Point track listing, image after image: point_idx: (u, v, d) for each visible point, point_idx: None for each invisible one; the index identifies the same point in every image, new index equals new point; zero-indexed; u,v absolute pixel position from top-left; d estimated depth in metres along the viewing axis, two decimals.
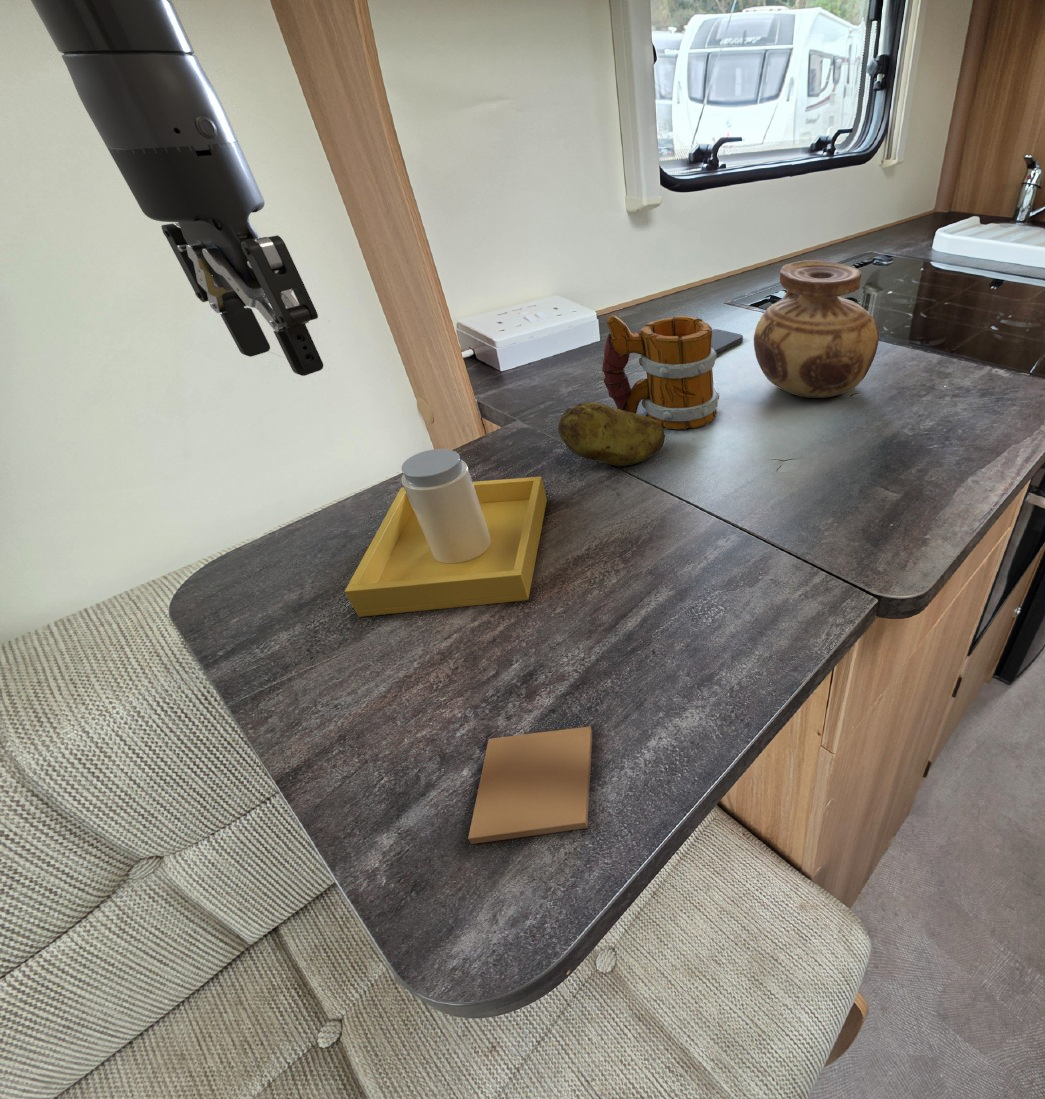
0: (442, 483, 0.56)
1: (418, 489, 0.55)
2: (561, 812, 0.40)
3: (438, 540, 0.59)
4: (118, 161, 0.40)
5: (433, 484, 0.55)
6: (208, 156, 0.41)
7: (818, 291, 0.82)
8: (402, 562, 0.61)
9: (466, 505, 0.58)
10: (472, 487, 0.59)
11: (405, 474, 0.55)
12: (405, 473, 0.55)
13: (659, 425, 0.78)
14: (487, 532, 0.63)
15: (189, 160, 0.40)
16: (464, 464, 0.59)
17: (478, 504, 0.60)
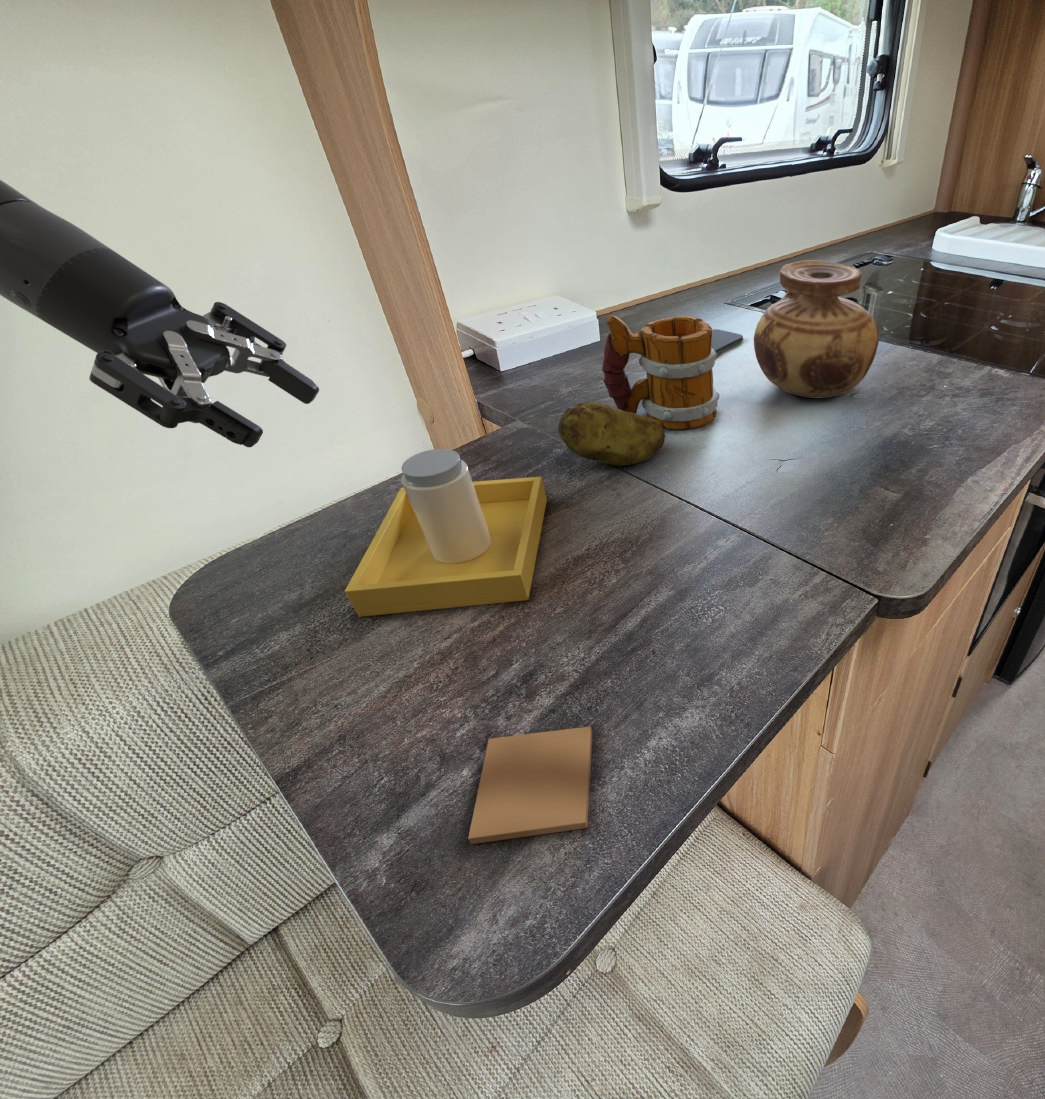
0: (442, 483, 0.56)
1: (418, 489, 0.55)
2: (561, 812, 0.40)
3: (438, 540, 0.59)
4: (102, 256, 0.46)
5: (433, 484, 0.55)
6: None
7: (818, 291, 0.82)
8: (402, 562, 0.61)
9: (466, 505, 0.58)
10: (472, 487, 0.59)
11: (405, 474, 0.55)
12: (405, 473, 0.55)
13: (659, 425, 0.78)
14: (487, 532, 0.63)
15: None
16: (464, 464, 0.59)
17: (478, 504, 0.60)
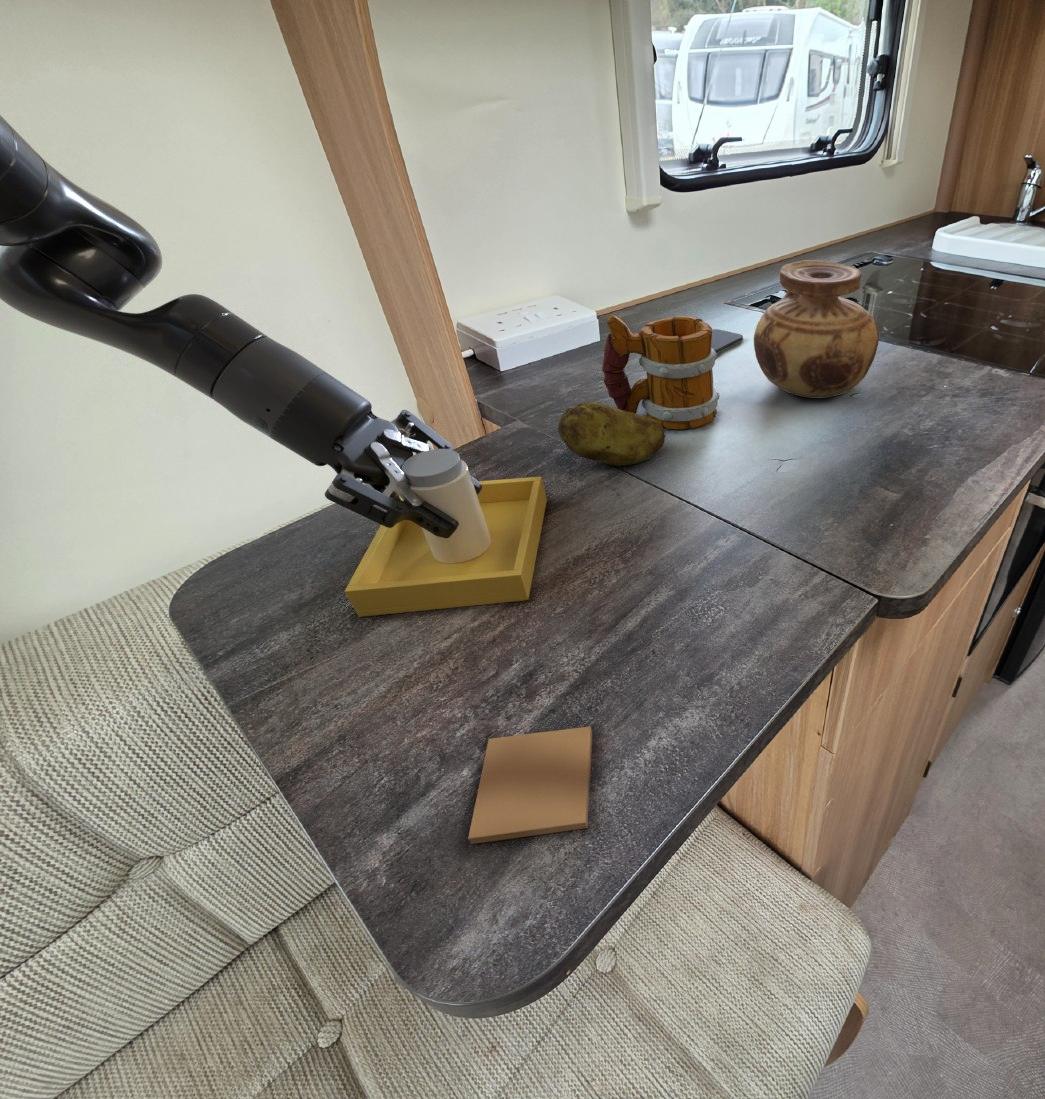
0: (442, 483, 0.56)
1: (419, 489, 0.55)
2: (561, 812, 0.40)
3: (438, 540, 0.59)
4: (325, 382, 0.52)
5: (433, 484, 0.55)
6: None
7: (818, 291, 0.82)
8: (402, 562, 0.61)
9: (466, 505, 0.58)
10: (472, 487, 0.59)
11: (405, 474, 0.55)
12: (405, 473, 0.55)
13: (659, 425, 0.78)
14: (487, 532, 0.63)
15: None
16: (464, 464, 0.59)
17: (478, 504, 0.60)
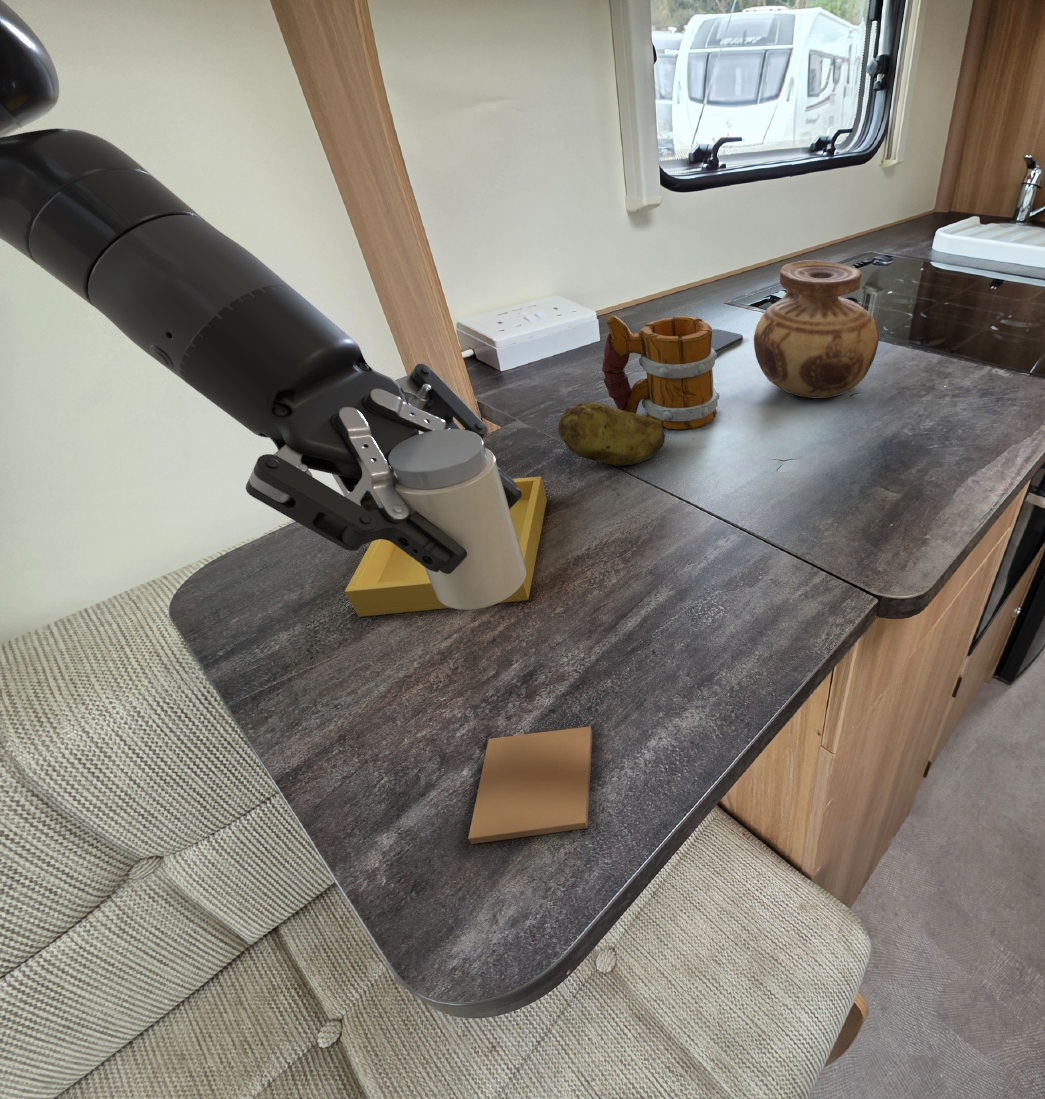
0: (445, 486, 0.34)
1: (407, 491, 0.33)
2: (561, 812, 0.40)
3: (438, 573, 0.37)
4: (275, 299, 0.31)
5: (430, 486, 0.33)
6: None
7: (818, 291, 0.82)
8: (402, 562, 0.61)
9: (484, 524, 0.36)
10: (499, 496, 0.37)
11: (390, 465, 0.34)
12: (390, 463, 0.34)
13: (659, 425, 0.78)
14: (519, 565, 0.40)
15: None
16: (491, 457, 0.36)
17: (507, 522, 0.38)
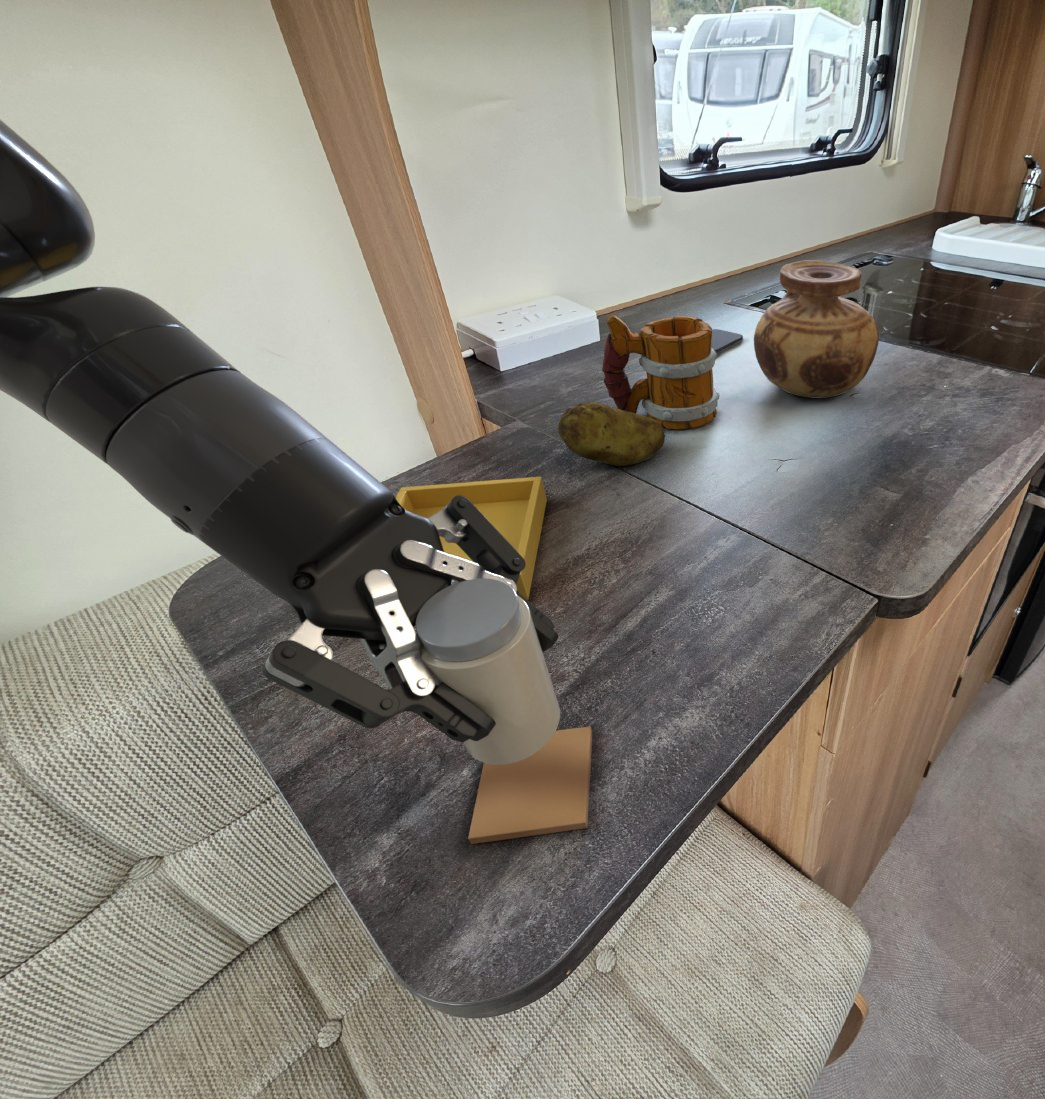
0: (474, 659, 0.31)
1: (433, 663, 0.30)
2: (561, 812, 0.40)
3: None
4: (301, 461, 0.28)
5: (458, 659, 0.30)
6: None
7: (818, 291, 0.82)
8: None
9: (516, 688, 0.33)
10: (533, 655, 0.33)
11: (417, 632, 0.31)
12: (417, 630, 0.31)
13: (659, 425, 0.78)
14: (552, 715, 0.37)
15: None
16: (526, 615, 0.33)
17: (541, 678, 0.35)
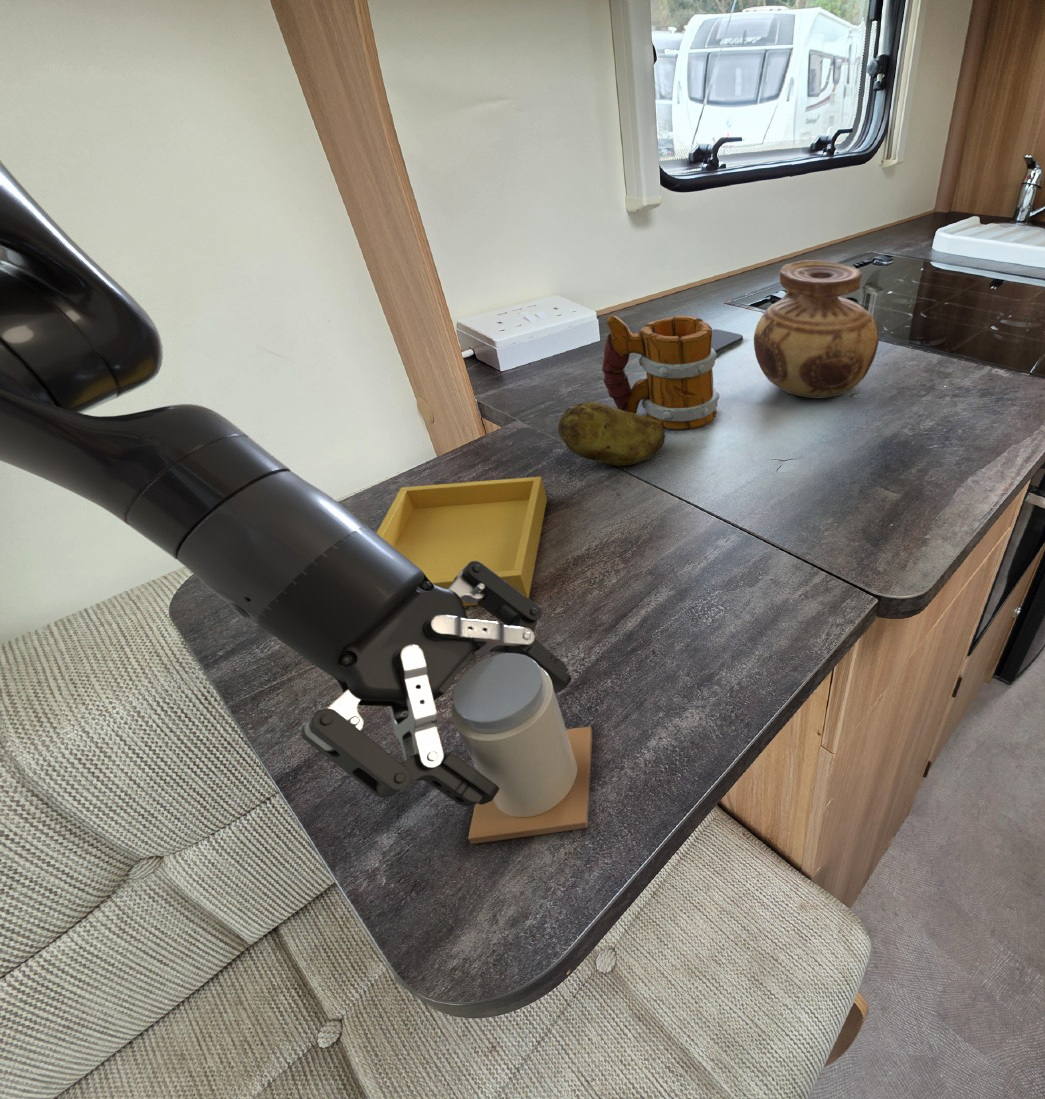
0: (505, 731, 0.35)
1: (468, 735, 0.35)
2: (561, 812, 0.40)
3: None
4: (346, 553, 0.32)
5: (491, 731, 0.34)
6: None
7: (818, 291, 0.82)
8: None
9: (540, 753, 0.37)
10: (554, 722, 0.38)
11: (454, 707, 0.35)
12: (454, 705, 0.35)
13: (659, 425, 0.78)
14: (570, 771, 0.41)
15: None
16: (549, 686, 0.37)
17: (561, 740, 0.39)
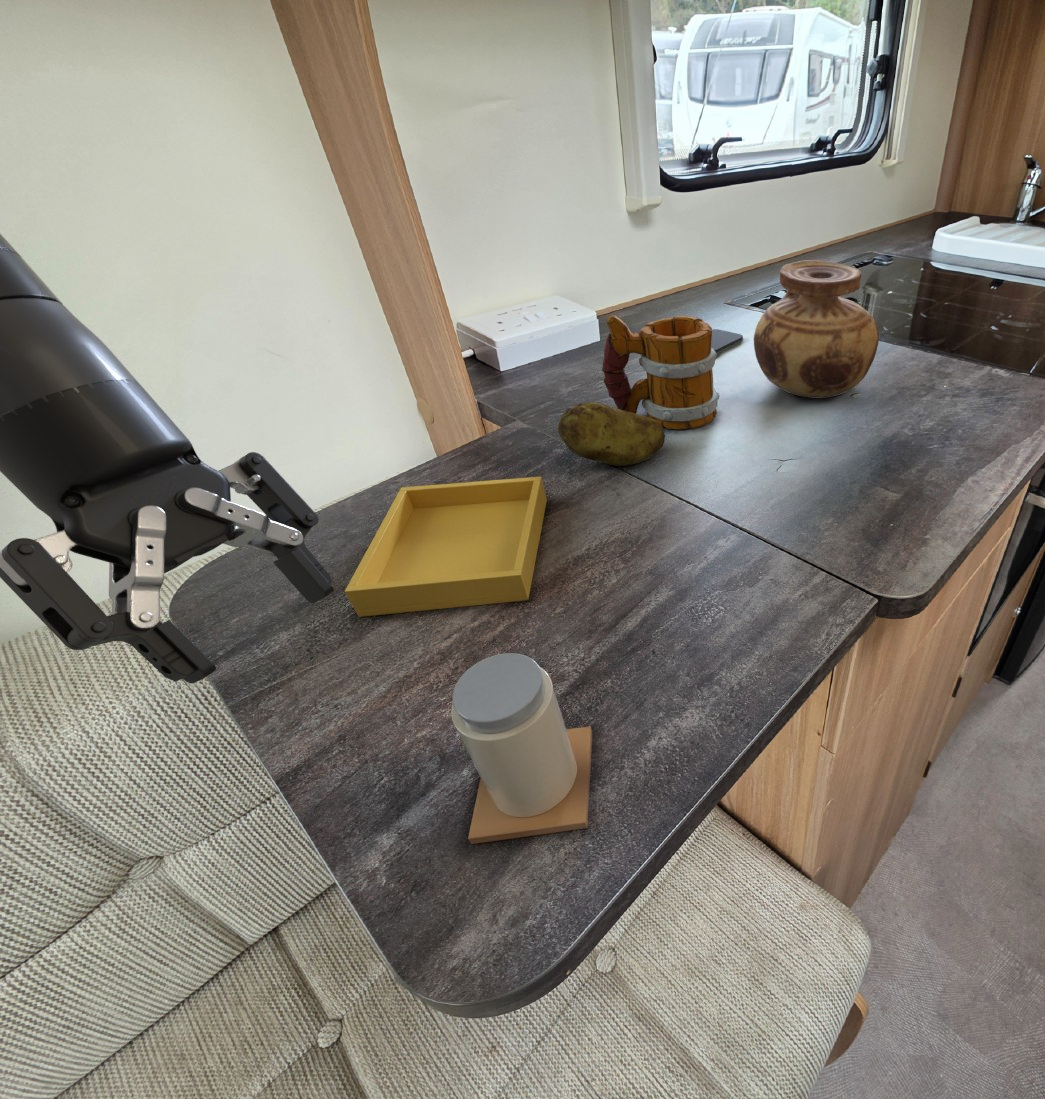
0: (505, 731, 0.35)
1: (468, 735, 0.35)
2: (561, 812, 0.40)
3: (494, 790, 0.38)
4: (103, 395, 0.32)
5: (491, 731, 0.34)
6: None
7: (818, 291, 0.82)
8: (402, 562, 0.61)
9: (540, 753, 0.37)
10: (554, 722, 0.38)
11: (454, 707, 0.35)
12: (454, 705, 0.35)
13: (659, 425, 0.78)
14: (570, 771, 0.41)
15: None
16: (549, 686, 0.37)
17: (561, 740, 0.39)
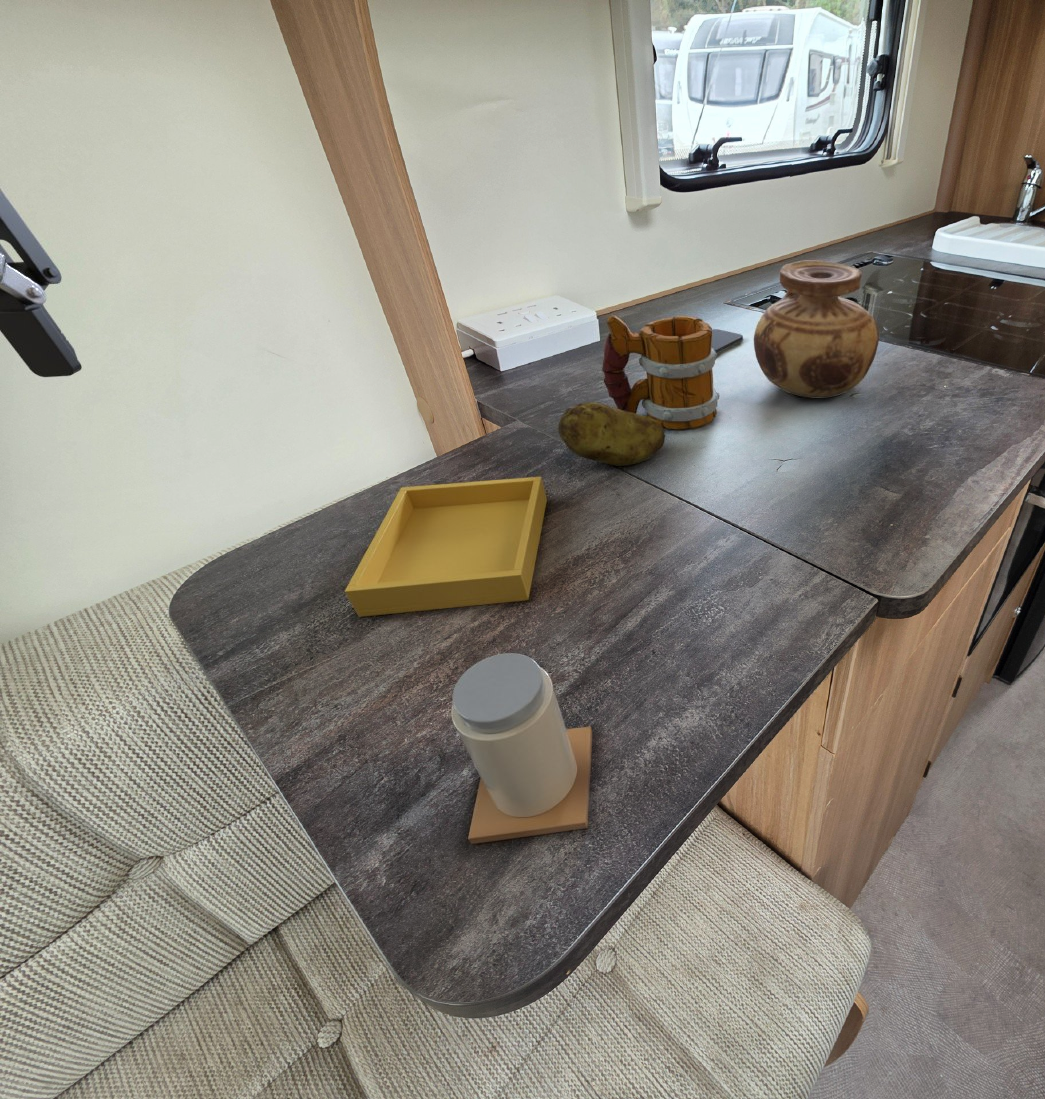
0: (505, 731, 0.35)
1: (468, 735, 0.35)
2: (561, 812, 0.40)
3: (494, 790, 0.38)
4: None
5: (491, 731, 0.34)
6: None
7: (818, 291, 0.82)
8: (402, 562, 0.61)
9: (540, 753, 0.37)
10: (554, 722, 0.38)
11: (454, 707, 0.35)
12: (454, 705, 0.35)
13: (659, 425, 0.78)
14: (570, 771, 0.41)
15: None
16: (549, 686, 0.37)
17: (561, 740, 0.39)
